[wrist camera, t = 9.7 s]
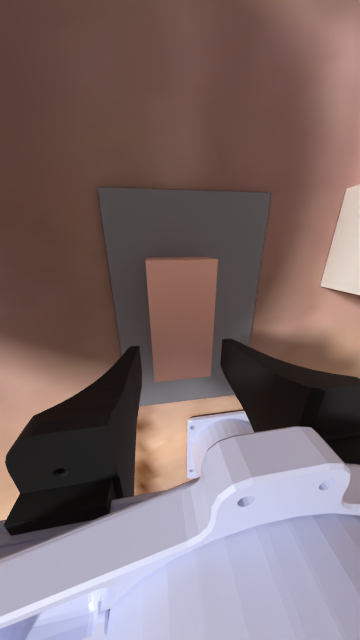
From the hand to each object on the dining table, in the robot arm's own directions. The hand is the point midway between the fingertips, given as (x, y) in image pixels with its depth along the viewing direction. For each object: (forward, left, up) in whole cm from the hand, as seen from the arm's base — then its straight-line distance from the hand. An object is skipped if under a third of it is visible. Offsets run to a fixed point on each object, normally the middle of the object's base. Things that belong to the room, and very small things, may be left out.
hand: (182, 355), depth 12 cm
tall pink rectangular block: (+2, 0, -3) cm, 4 cm away
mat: (+2, -1, -3) cm, 4 cm away
